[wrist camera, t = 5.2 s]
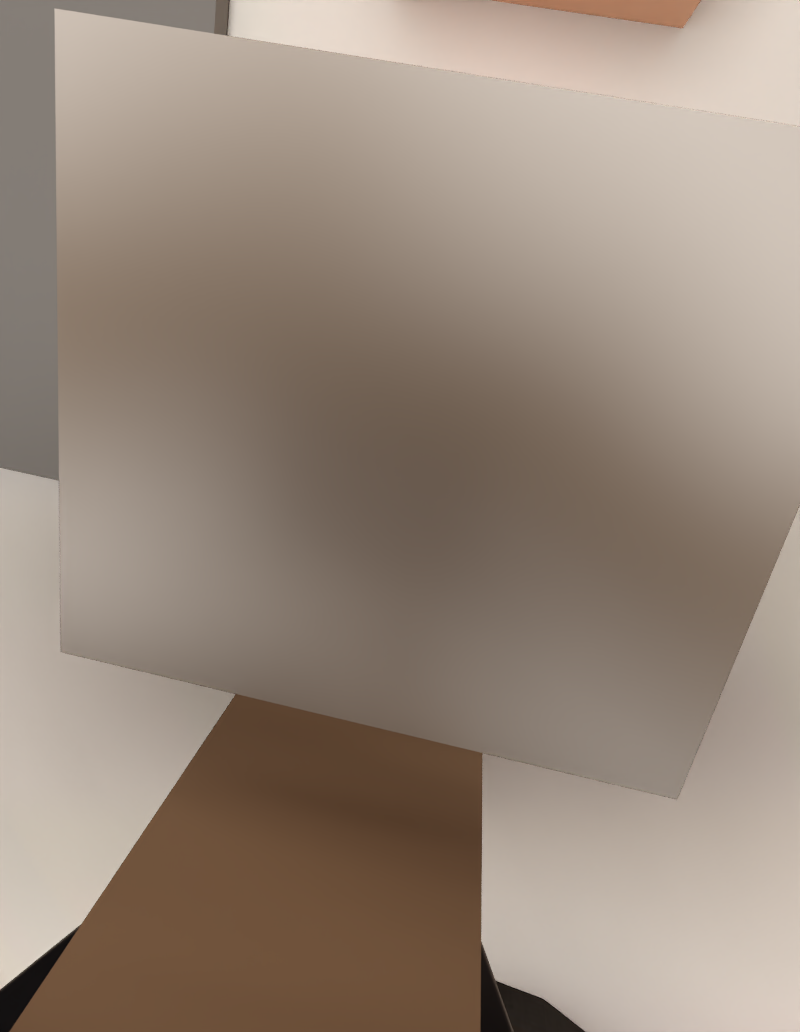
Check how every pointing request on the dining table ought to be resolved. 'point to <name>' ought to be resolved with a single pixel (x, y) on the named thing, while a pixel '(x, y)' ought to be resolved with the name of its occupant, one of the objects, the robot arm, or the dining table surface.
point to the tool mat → (44, 211)
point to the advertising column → (533, 1013)
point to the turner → (395, 487)
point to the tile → (624, 9)
